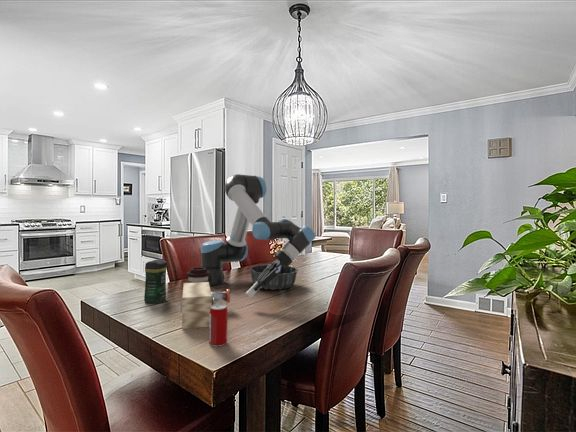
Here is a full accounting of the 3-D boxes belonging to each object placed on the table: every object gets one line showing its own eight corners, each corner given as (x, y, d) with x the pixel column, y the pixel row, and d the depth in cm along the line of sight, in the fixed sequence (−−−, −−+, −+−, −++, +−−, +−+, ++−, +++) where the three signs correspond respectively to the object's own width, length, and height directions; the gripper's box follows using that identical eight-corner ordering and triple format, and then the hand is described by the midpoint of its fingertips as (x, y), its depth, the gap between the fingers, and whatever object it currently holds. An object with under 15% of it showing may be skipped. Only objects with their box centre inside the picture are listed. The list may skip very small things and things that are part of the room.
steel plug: (214, 310, 122) (214, 295, 121) (215, 314, 116) (215, 299, 116) (180, 312, 118) (181, 297, 118) (180, 317, 113) (180, 301, 113)
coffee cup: (182, 301, 142) (182, 268, 142) (201, 297, 150) (202, 265, 149) (193, 306, 136) (194, 271, 135) (213, 301, 143) (214, 268, 142)
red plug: (228, 300, 134) (228, 287, 134) (230, 304, 129) (230, 291, 129) (198, 302, 130) (198, 289, 130) (199, 306, 125) (199, 292, 125)
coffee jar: (158, 304, 137) (159, 261, 137) (141, 303, 138) (141, 261, 138) (169, 298, 147) (169, 258, 147) (152, 297, 148) (153, 257, 147)
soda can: (229, 344, 99) (230, 306, 98) (213, 348, 96) (213, 309, 95) (222, 338, 103) (223, 301, 103) (206, 342, 100) (206, 304, 100)
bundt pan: (307, 287, 174) (308, 269, 173) (272, 296, 155) (272, 275, 155) (274, 279, 192) (275, 262, 192) (239, 285, 173) (240, 267, 173)
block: (208, 307, 134) (208, 281, 134) (211, 326, 113) (211, 295, 113) (183, 309, 131) (183, 283, 131) (182, 329, 110) (182, 297, 110)
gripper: (297, 263, 133) (257, 305, 128) (288, 258, 145) (251, 296, 141) (285, 251, 131) (244, 293, 127) (277, 247, 143) (239, 285, 139)
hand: (248, 295), depth 134 cm, fingers closed
